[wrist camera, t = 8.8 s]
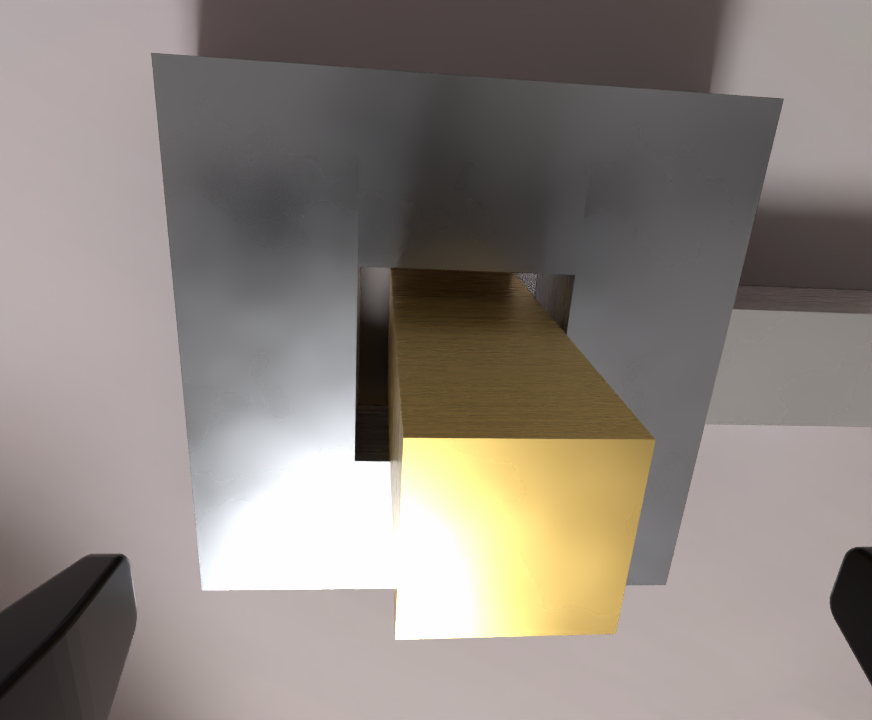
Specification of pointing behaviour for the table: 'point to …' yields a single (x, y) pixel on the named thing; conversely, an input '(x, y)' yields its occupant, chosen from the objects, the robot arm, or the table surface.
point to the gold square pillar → (504, 465)
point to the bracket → (470, 251)
